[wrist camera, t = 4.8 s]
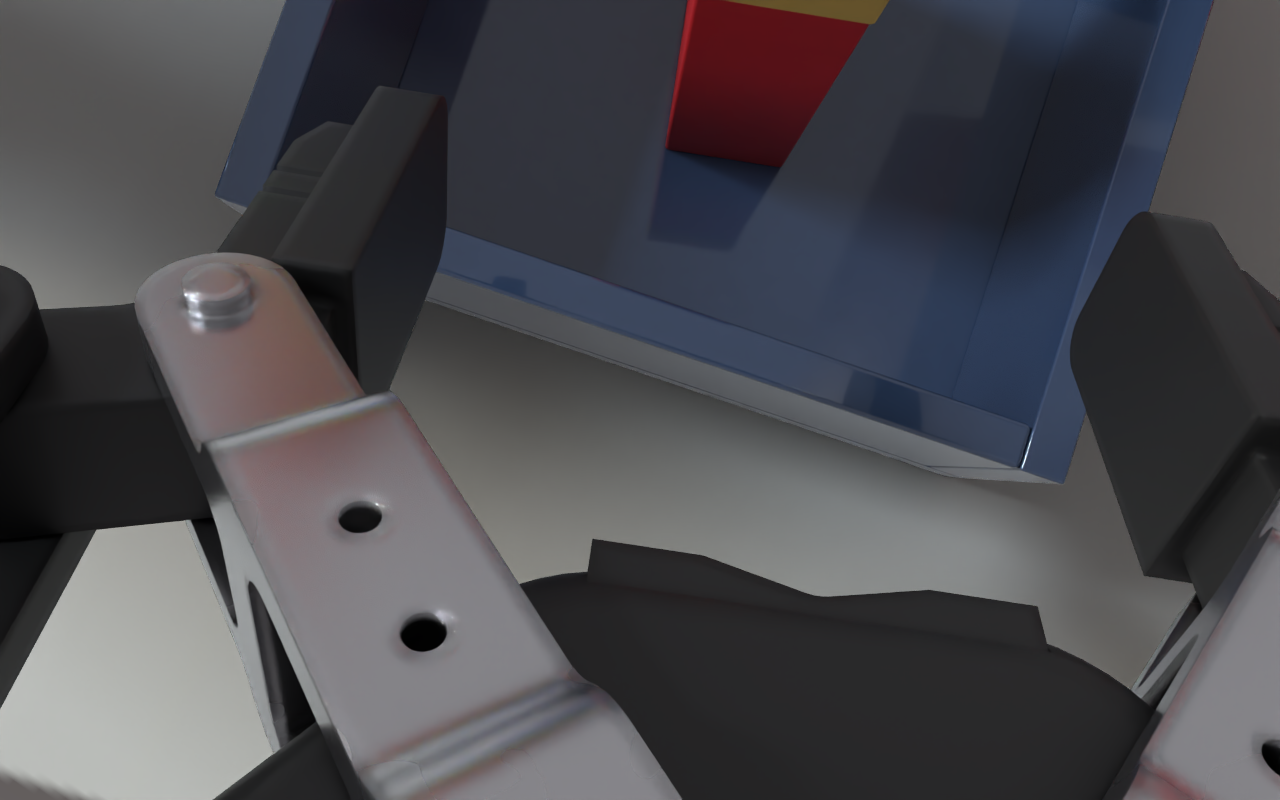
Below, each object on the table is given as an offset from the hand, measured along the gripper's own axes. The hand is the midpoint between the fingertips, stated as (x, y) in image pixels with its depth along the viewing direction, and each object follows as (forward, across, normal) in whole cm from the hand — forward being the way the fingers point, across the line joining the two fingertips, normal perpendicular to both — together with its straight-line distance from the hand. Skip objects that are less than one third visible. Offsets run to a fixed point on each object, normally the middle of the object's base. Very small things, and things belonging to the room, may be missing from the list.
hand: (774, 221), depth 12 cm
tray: (+12, 0, +4) cm, 13 cm away
